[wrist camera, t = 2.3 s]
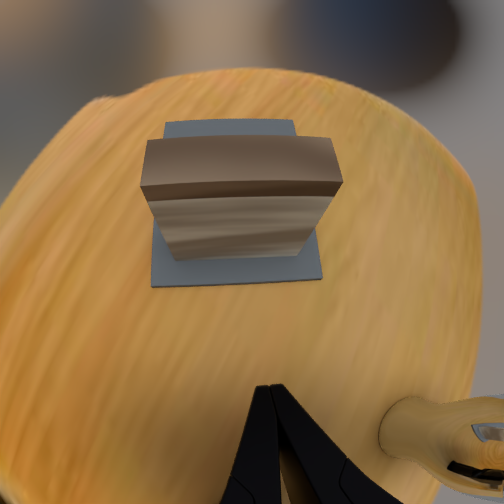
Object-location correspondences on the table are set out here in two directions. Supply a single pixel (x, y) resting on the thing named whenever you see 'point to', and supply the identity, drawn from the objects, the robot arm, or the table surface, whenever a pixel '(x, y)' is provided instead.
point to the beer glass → (451, 442)
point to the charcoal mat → (240, 269)
